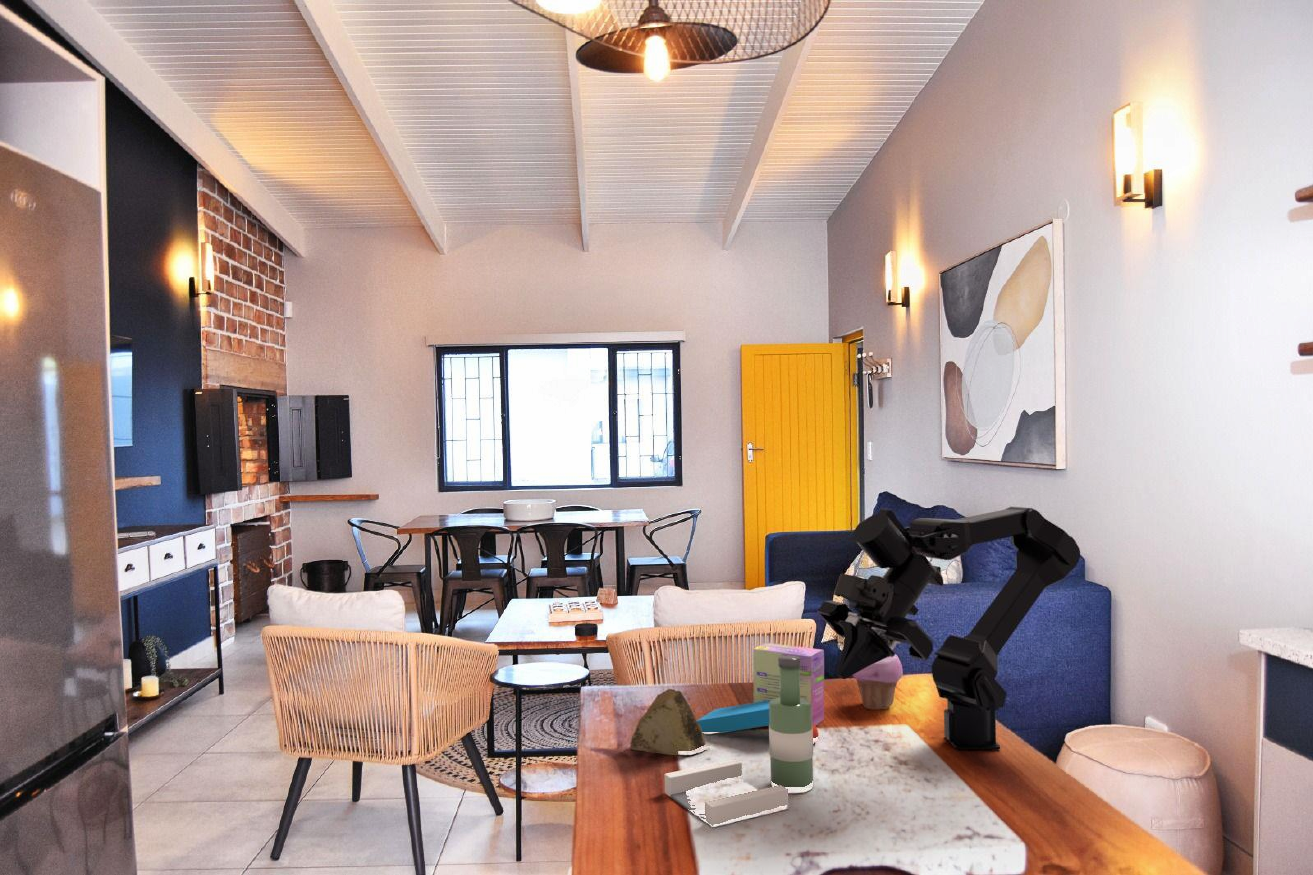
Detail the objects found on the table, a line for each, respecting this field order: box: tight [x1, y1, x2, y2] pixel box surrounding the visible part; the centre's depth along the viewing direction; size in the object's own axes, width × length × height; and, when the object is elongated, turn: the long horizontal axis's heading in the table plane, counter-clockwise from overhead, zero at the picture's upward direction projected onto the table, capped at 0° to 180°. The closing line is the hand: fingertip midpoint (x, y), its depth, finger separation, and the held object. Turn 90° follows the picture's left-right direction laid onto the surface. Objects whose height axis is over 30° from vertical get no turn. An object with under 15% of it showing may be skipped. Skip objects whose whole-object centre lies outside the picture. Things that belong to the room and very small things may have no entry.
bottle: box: [768, 655, 814, 787], centre depth 118 cm, size 6×6×17 cm
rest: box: [664, 758, 789, 826], centre depth 113 cm, size 11×12×2 cm
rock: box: [629, 688, 707, 756], centre depth 133 cm, size 11×9×10 cm
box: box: [752, 642, 825, 727], centre depth 146 cm, size 10×6×12 cm, turn 58°
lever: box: [696, 700, 819, 738], centre depth 138 cm, size 7×7×18 cm
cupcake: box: [852, 653, 904, 711], centre depth 152 cm, size 9×9×10 cm
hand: (840, 676), depth 122 cm, fingers closed
